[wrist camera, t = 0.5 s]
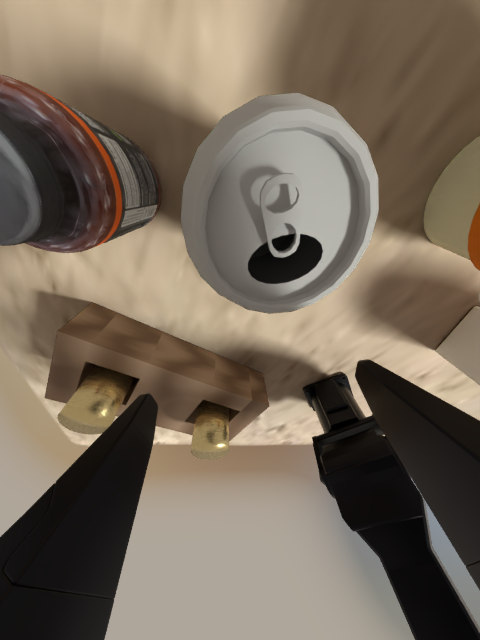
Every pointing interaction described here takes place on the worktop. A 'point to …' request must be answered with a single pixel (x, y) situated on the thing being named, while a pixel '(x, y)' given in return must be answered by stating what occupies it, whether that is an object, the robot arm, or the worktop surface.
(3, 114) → the supplement bottle
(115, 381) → the peg
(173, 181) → the worktop surface
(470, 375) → the milk carton
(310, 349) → the worktop surface
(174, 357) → the walnut block
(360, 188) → the can
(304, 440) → the worktop surface
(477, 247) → the reusable coffee cup
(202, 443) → the peg
